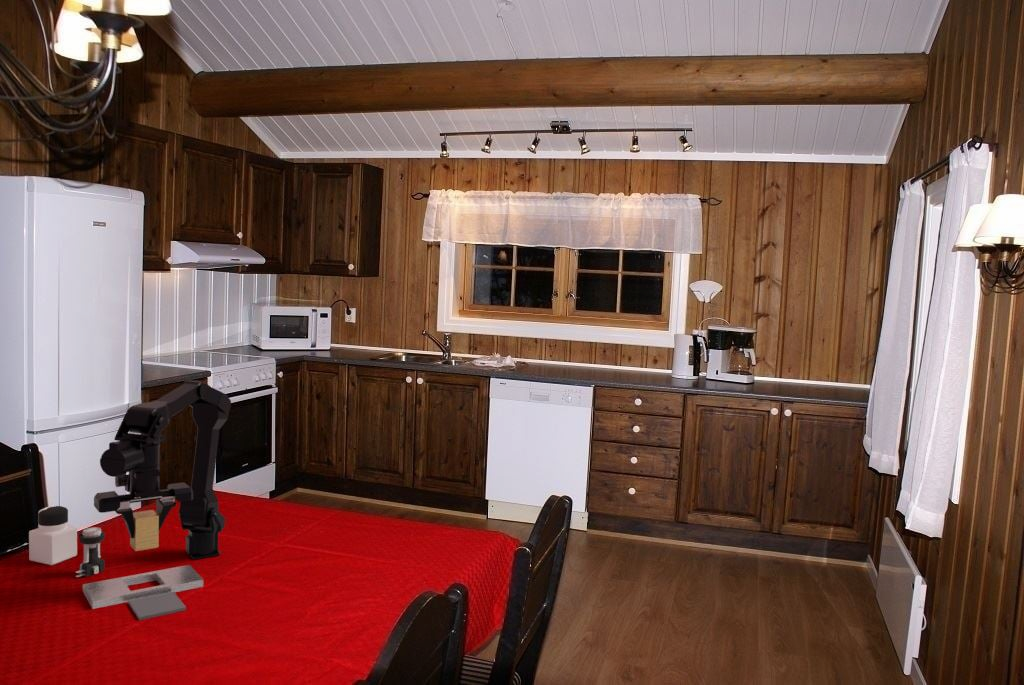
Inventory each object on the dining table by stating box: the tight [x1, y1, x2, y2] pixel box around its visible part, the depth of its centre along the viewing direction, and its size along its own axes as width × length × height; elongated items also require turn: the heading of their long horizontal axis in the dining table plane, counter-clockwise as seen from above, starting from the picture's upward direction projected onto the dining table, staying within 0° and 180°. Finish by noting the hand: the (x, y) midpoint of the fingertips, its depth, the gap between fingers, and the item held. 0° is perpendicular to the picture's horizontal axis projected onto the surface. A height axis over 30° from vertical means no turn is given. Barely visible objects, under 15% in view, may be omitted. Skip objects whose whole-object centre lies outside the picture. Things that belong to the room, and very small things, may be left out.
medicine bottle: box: [28, 505, 78, 566], centre depth 189 cm, size 7×7×12 cm
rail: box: [82, 564, 204, 610], centre depth 176 cm, size 22×10×2 cm, turn 128°
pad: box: [127, 592, 187, 621], centre depth 168 cm, size 9×9×1 cm
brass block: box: [129, 509, 160, 552], centre depth 174 cm, size 5×5×7 cm
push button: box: [75, 526, 106, 578], centre depth 182 cm, size 7×5×10 cm
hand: (144, 535), depth 174 cm, fingers closed on brass block, 5 cm apart
